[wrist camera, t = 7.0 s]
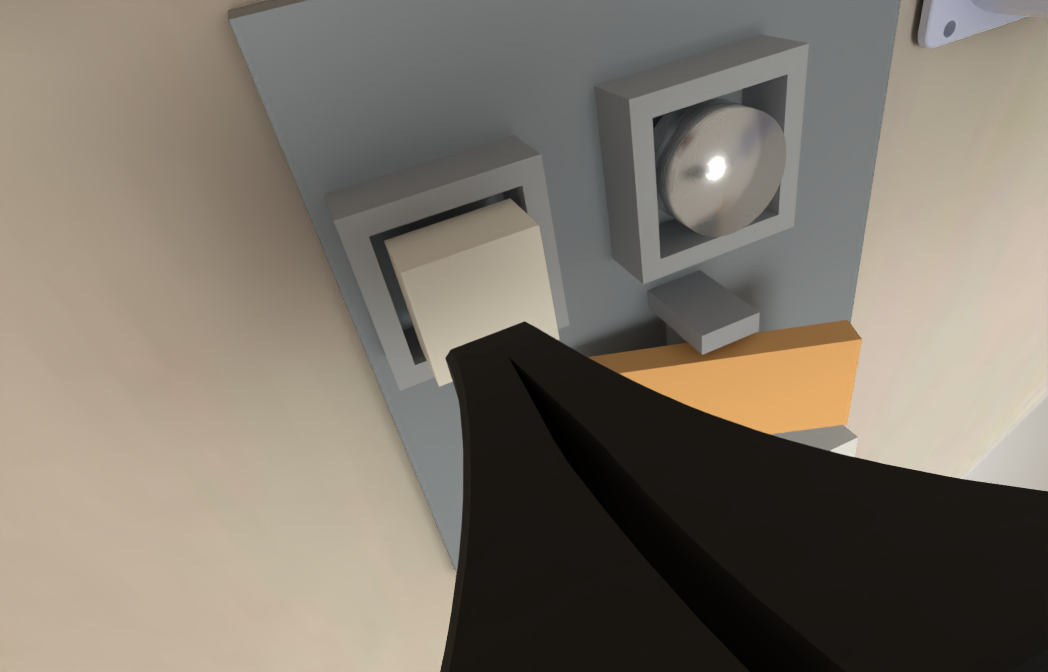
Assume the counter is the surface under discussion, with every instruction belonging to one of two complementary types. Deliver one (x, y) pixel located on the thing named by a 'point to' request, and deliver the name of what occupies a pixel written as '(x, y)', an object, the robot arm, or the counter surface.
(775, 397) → the rocker
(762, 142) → the button round
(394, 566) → the counter surface
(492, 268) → the button square
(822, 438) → the slider knob
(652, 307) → the console
